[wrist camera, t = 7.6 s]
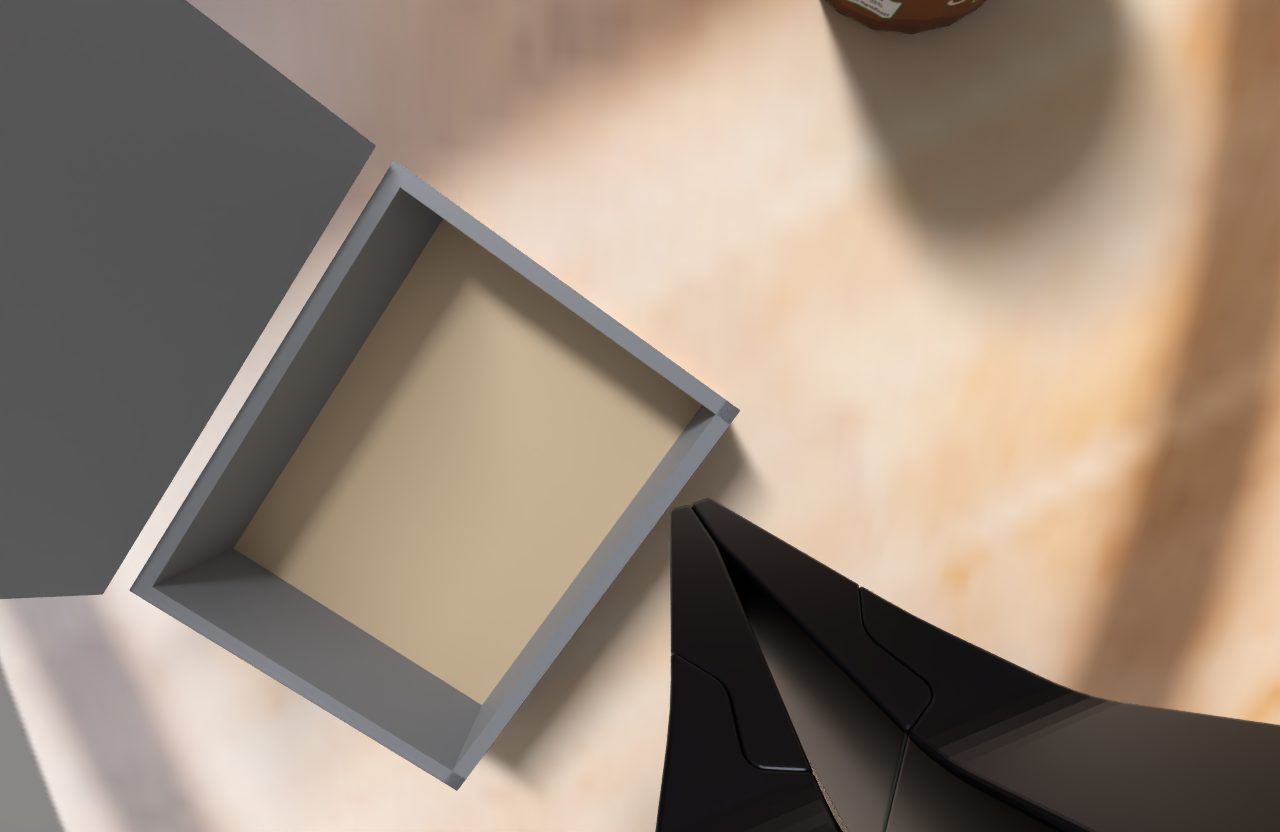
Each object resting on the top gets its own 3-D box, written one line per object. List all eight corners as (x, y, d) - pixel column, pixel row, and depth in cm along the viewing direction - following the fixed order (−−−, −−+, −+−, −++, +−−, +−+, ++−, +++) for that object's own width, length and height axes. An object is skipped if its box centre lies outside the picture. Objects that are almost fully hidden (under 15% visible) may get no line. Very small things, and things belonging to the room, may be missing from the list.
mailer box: (720, 400, 20) (740, 410, 16) (490, 712, 22) (457, 790, 18) (444, 201, 19) (394, 159, 15) (226, 545, 21) (129, 590, 17)
